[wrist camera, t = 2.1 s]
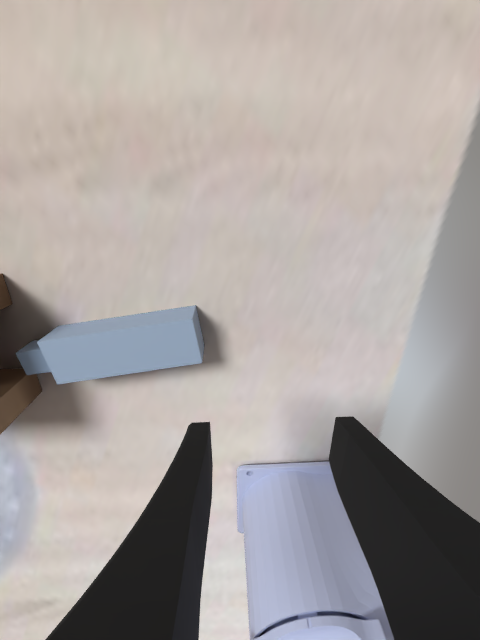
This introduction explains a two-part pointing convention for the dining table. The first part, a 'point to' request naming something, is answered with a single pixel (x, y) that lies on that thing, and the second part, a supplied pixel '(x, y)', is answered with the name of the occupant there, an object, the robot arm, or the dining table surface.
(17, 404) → the brown notched block
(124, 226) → the dining table surface
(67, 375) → the blue stepped bar
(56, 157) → the dining table surface
